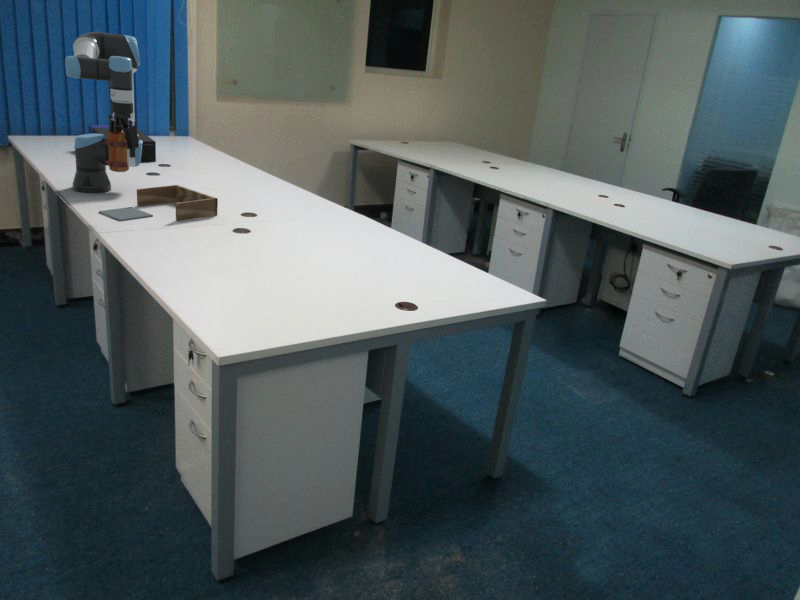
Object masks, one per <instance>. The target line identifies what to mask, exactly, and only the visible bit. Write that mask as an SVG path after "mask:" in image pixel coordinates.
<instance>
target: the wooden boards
mask: <svg viewBox="0 0 800 600" xmlns="http://www.w3.org/2000/svg"><path fill="white" fill-rule="evenodd" d="M218 200H219V199H218V197H215V196H212V195H208V194H205V193H202V192H200V191H196V190H193V189H190V188H187V187H185V186H181V185H178V184H173V185H172V184H171V185H165V186H163V185H162V186H154V187H144V188H137V189H136V206H137V207H147V206H154V205H163V204H169V203H170V204H171V203H175V221H176V222H181V221H188V220H195V218H196V219H201V217H202V218H208V217H213V216H218V205H219V204H218V202H219V201H218ZM207 216H208V217H207Z"/></svg>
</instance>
